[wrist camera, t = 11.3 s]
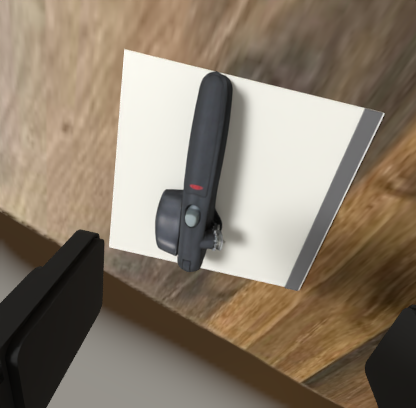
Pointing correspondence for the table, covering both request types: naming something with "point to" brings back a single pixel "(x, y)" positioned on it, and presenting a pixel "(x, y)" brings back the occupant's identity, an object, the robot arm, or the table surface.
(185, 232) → the can opener
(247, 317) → the table surface
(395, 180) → the table surface
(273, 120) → the mat
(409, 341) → the robot arm
